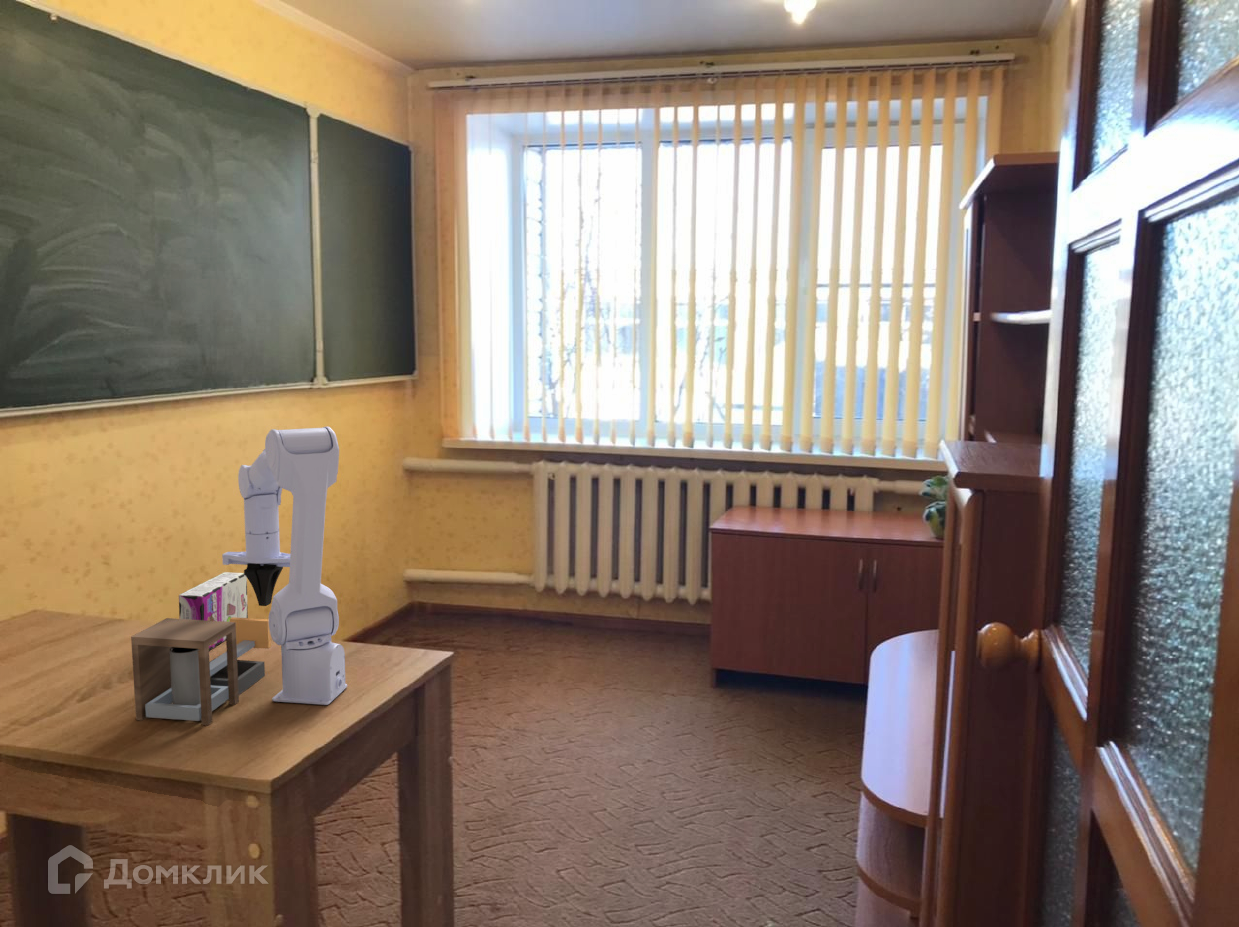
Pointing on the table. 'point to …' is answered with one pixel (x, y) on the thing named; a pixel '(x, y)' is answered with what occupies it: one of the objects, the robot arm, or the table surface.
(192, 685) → the gray cylinder
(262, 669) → the box
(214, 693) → the slider
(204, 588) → the candy bar box
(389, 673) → the table surface
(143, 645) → the tunnel
